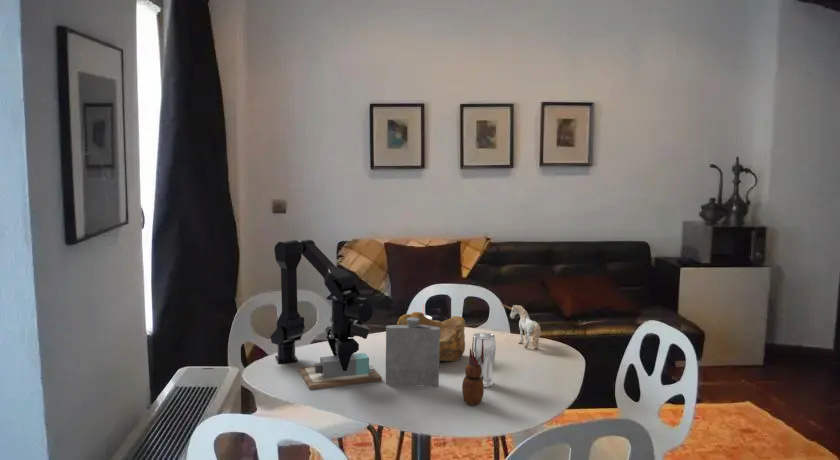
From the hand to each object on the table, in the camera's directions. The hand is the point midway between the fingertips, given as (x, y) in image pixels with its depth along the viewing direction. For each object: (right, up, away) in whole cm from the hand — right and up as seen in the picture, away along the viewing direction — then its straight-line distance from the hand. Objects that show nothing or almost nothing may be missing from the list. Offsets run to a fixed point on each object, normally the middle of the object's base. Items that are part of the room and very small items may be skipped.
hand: (341, 365), depth 201 cm
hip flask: (+22, -5, -3) cm, 22 cm away
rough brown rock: (+27, -2, +18) cm, 33 cm away
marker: (+1, -2, +1) cm, 3 cm away
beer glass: (+43, -5, -2) cm, 43 cm away
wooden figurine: (+39, -7, -17) cm, 43 cm away
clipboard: (-1, -4, +2) cm, 4 cm away
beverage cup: (+25, +1, +39) cm, 46 cm away
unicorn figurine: (+59, 0, +36) cm, 69 cm away
